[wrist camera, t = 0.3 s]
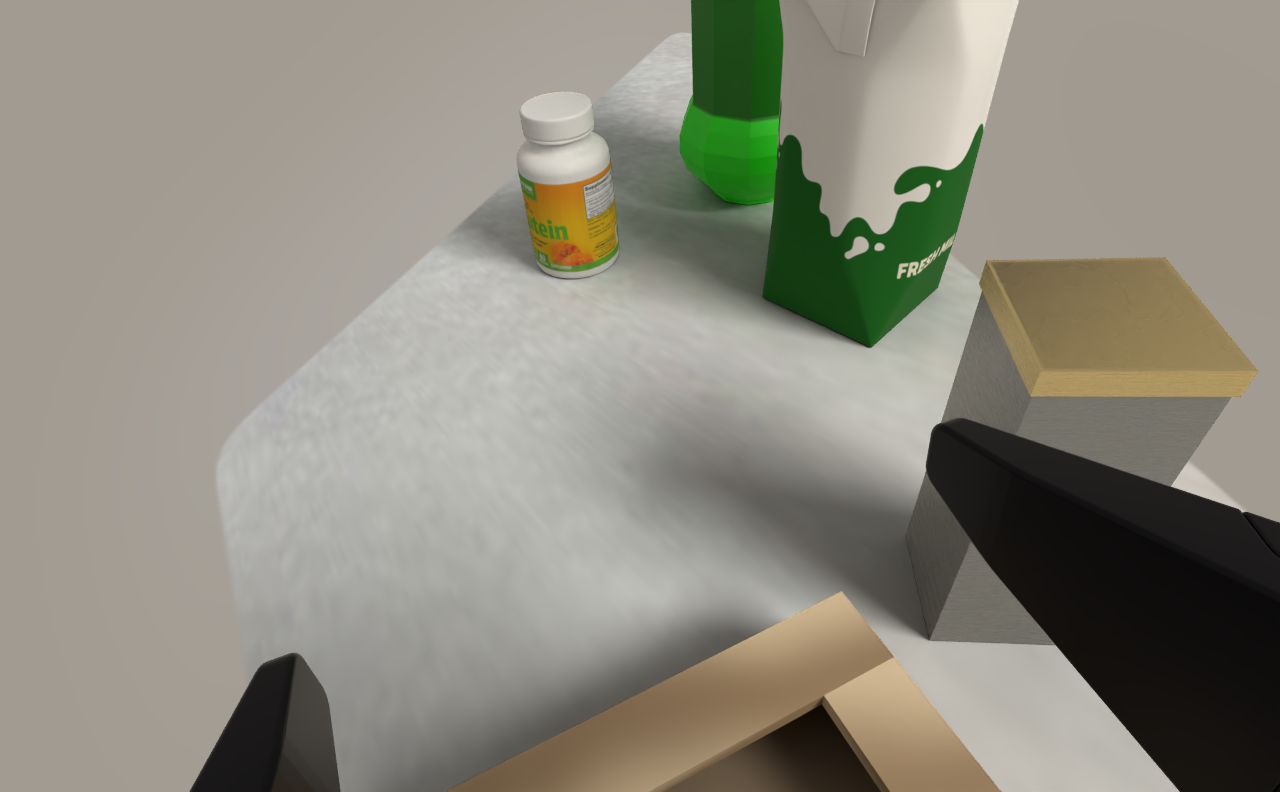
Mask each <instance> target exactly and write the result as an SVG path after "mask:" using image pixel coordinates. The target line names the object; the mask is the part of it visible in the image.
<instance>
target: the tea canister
mask: <svg viewBox="0 0 1280 792" xmlns="http://www.w3.org/2000/svg"><path fill="white" fill-rule="evenodd" d="M979 285H980V287H981V289H982V293H981V296H980V299H979V303H978V306H977V309H976V312H975V315H974V319H973V322H972V325H971V328H970V331H969V335H968V338H967V341H966V344H965V348H964V351H963V354H962V357H961V360H960V364H959V367H958V370H957V373H956V376H955V380H954V383H953V386H952V389H951V393H950V396H949V399H948V402H947V405H946V409H945V412H944V415H943V418H942V421H941V423H943V422H945V421H948V420H951V419H954V418H966V419H969V420H972V421H975V422H978V423H981V424H984V425H987V426H990V427H993V428H996V429H999V430H1002V431H1005V432H1008V433H1011V434H1014V435H1017V436H1020V437H1023V438H1026V439H1029V440H1032V441H1035V442H1038V443H1041V444H1044V445H1047V446H1050V447H1053V448H1056V449H1059V450H1062V451H1065V452H1068V453H1071V454H1074V455H1077V456H1080V457H1083V458H1086V459H1089V460H1092V461H1095V462H1098V463H1101V464H1104V465H1107V466H1110V467H1113V468H1116V469H1119V470H1122V471H1125V472H1128V473H1131V474H1134V475H1137V476H1140V477H1143V478H1146V479H1149V480H1152V481H1155V482H1158V483H1161V484H1164V485H1167V486H1170V487H1171V485H1172V484H1173V482H1174V481H1175V479H1176V478H1177V476H1178V475H1179V473H1180V472H1181V470H1182V469H1183V468H1184V466H1185V465H1186V463H1187V462H1188V460H1189V459H1190V457H1191V456H1192V454H1193V453H1194V451H1195V450H1196V449H1197V447H1198V446H1199V444H1200V443H1201V441H1202V440H1203V438H1204V437H1205V435H1206V434H1207V432H1208V431H1209V430H1210V428H1211V427H1212V425H1213V424H1214V422H1215V421H1216V419H1217V418H1218V416H1219V415H1220V413H1221V412H1222V410H1223V409H1224V407H1225V406H1226V405H1227V403H1228V402H1229V400H1230V399H1231V397H1241V396H1242V394H1243V393H1244V391H1245V390H1246V389H1247V387H1248V386H1249V384H1250V383H1251V381H1252V380H1253V378H1254V377H1255V375H1256V374H1257V373H1258V370H1257V369H1256V368H1255V367H1254V365H1253V364H1252V363H1251V362H1250V361H1249V359H1248V358H1247V357H1246V356H1245V354H1244V353H1243V352H1242V351H1241V350H1240V348H1239V347H1238V346H1237V345H1236V343H1235V342H1234V341H1233V340H1232V338H1231V337H1230V336H1229V335H1228V334H1227V332H1226V331H1225V330H1224V329H1223V327H1222V326H1221V325H1220V324H1219V323H1218V321H1217V320H1216V319H1215V318H1214V316H1213V315H1212V314H1211V313H1210V312H1209V310H1208V309H1207V308H1206V307H1205V306H1204V304H1203V303H1202V302H1201V300H1200V299H1199V298H1198V297H1197V296H1196V295H1195V293H1194V292H1193V291H1192V289H1191V288H1190V287H1189V286H1188V285H1187V283H1186V282H1185V281H1184V280H1183V279H1182V277H1181V276H1180V275H1179V274H1178V272H1177V271H1176V270H1175V269H1174V267H1173V266H1172V265H1171V264H1170V263H1169V261H1168V260H1167V259H1166V258H1165V257H1163V258H1105V259H1104V258H1103V259H1045V260H987V261H986V263H985V266H984V270H983V273H982V277H981V279H980V283H979ZM906 540H907V544H908V548H909V553H910V557H911V562H912V566H913V570H914V575H915V579H916V583H917V588H918V592H919V597H920V601H921V605H922V610H923V614H924V618H925V623H926V627H927V632H928V636H929V640H930V641H958V642H986V643H1013V644H1041V645H1055V644H1054V643H1053V641H1052V640H1051V639H1050V638H1049V637H1048V636H1047V634H1046V633H1045V632H1044V631H1043V630H1042V628H1041V627H1040V626H1039V625H1038V624H1037V623H1036V621H1035V620H1034V619H1033V618H1032V617H1031V615H1030V614H1029V613H1028V612H1027V611H1026V610H1025V608H1024V607H1023V606H1022V605H1021V604H1020V602H1019V601H1018V600H1017V599H1016V598H1015V597H1014V595H1013V594H1012V593H1011V592H1010V591H1009V590H1008V588H1007V587H1006V586H1005V585H1004V584H1003V582H1002V581H1001V580H1000V579H999V578H998V576H997V575H996V574H995V573H994V572H993V570H992V569H991V568H990V567H989V565H988V564H987V563H986V561H985V560H984V559H983V557H982V556H981V555H980V553H979V552H978V550H977V549H976V548H975V546H974V545H973V543H972V542H971V540H970V539H969V537H968V536H967V534H966V533H965V532H964V530H963V529H962V527H961V526H960V524H959V523H958V521H957V520H956V518H955V517H954V515H953V514H952V513H951V511H950V510H949V508H948V507H947V505H946V504H945V502H944V501H943V499H942V498H941V497H940V495H939V494H938V492H937V491H936V489H935V488H934V486H933V485H932V483H931V482H930V480H929V478H928V475H927V472H926V473H925V476H924V479H923V483H922V486H921V489H920V492H919V495H918V499H917V502H916V505H915V508H914V511H913V515H912V518H911V521H910V524H909V528H908V531H907V534H906Z"/></svg>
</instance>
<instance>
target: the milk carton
mask: <svg viewBox="0 0 1280 792" xmlns="http://www.w3.org/2000/svg"><path fill="white" fill-rule="evenodd" d="M779 2H780V10H781V19H782V27H783V44H784V45H783V63H782V80H781V96H780V113H779V129H778V145H777V160H776V176H775V192H774V207H773V217H772V226H771V233H770V242H769V250H768V258H767V266H766V275H765V283H764V291H763V298H765V299H767V300H770V301H772V302H774V303H776V304H778V305H780V306H782V307H785V308H787V309H789V310H791V311H793V312H795V313H798V314H800V315H802V316H804V317H806V318H808V319H811V320H813V321H815V322H817V323H819V324H821V325H823V326H826V327H828V328H830V329H832V330H834V331H836V332H839V333H841V334H843V335H845V336H847V337H849V338H852V339H854V340H856V341H858V342H860V343H862V344H864V345H867V346H869V347H872V346H874V345H875V344H876V343H877V342H878V341H879V340H880V339H881V338H882V337H884V336H885V335H886V334H887V333H888V332H889V331H890V330H891V329H892V328H893V327H895V326H896V325H897V324H898V323H899V322H900V321H901V320H902V319H903V318H905V317H906V316H907V315H908V314H909V313H910V312H911V311H912V310H913V309H915V308H916V307H917V306H918V305H919V304H920V303H921V302H922V301H923V300H925V299H926V298H927V297H928V296H929V295H930V294H931V293H932V292H933V291H935V290H936V289H937V288H938V285H939V282H940V279H941V276H942V273H943V270H944V268H945V265H946V262H947V259H948V256H949V253H950V250H951V247H952V244H953V241H954V238H955V236H956V232H957V229H958V225H959V222H960V218H961V214H962V210H963V207H964V203H965V199H966V195H967V192H968V187H969V184H970V180H971V176H972V173H973V169H974V165H975V161H976V157H977V153H978V150H979V146H980V142H981V138H982V134H983V131H984V127H985V123H986V119H987V116H988V112H989V108H990V104H991V100H992V97H993V93H994V89H995V85H996V82H997V78H998V74H999V70H1000V66H1001V62H1002V59H1003V55H1004V51H1005V47H1006V43H1007V40H1008V36H1009V33H1010V29H1011V26H1012V22H1013V19H1014V15H1015V12H1016V9H1017V5H1018V2H1019V0H779Z"/></svg>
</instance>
